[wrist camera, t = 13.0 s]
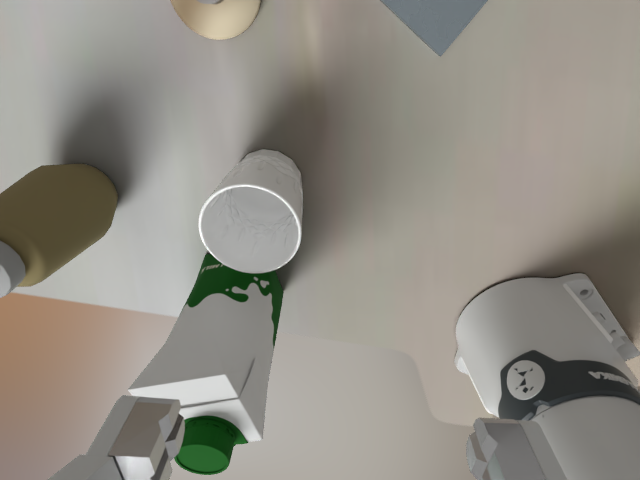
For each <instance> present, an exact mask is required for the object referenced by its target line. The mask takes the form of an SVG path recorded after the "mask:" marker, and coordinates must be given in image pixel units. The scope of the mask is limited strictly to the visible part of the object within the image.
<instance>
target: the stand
mask: <svg viewBox="0 0 640 480" xmlns="http://www.w3.org/2000/svg"><path fill="white" fill-rule="evenodd" d="M171 3H172V5H173V7H174V9H175V11H176V13H177V14H178V16H179V17H180V18H181V20H182V21H183V22H184V23H185V24H186V25H187V26H188V27H189V28H190V29H191V30H193V31H194V32H196V33H197V34H199V35H201V36H204V37H206V38H210V39H215V40H224V39H229V38H233V37H236V36H238V35H240V34H242V33H243V32H244V31H246V30H247V29H248V28H249V27H250V26H251V24H252V23H253V21H254V20H255V18H256V16H257V14H258V11H259V8H260V4H261V0H171Z"/></svg>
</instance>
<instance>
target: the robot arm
mask: <svg viewBox="0 0 640 480" xmlns="http://www.w3.org/2000/svg"><path fill="white" fill-rule="evenodd" d="M582 290H583V291H582ZM456 339H457V343H458V351H457V353H456V356H455V360H454V363H455V365H456V367H457V369H458V370H459V371H460V372H463V373H465V374H468V375H469V376H470V378H471V380H472V382H473V384H474V387H475V389H476V391H477V393H478V395H479V397H480V399H481V401H482V403H483V405H484V407H485V409H486V410H487V411H488V412H489V413H490V414H493V415H495V416H497V417H499V418H500V419H495V418H478V419H476V421H475V423H474V425H473V426H474V429H475V432H474V433H472V434H471V435H469V438H468V441H467V449H466V450H467V452H466V454H467V460H468V464H469V468H470V472H471V473H472V474H473V475H474V476H475V478H476V479H477V480H640V391H639V390H638V389H637V385H638V379H637V378H636V376H635V375H634V374H633V372H632V371H631V370H630V368H629V367H628V365H627V364H626V363H625V361H627V359H628V360H630V359H632V358H634V357H636V356H639V354H640V352H639V351H638V349H637V348H636V347H635V346H634V344H633V343H632V342H631V341H630V340H629V338H628V336H627V335H626V333H625V332H624V330H623V329H622V327H621V326H620V324H619V323H618V321H617V320H616V318H615V317H614V315H613V314H612V312H611V311H610V309H609V308H608V306H607V305H606V303H605V302H604V300H603V299H602V297H601V296H600V294H599V293H598V291H597V289H596V288H595V286H594V285H593V283H592V282H591V281H590V279H589V278H588V276H587V275H585V274H582V273H577V274H571V275H566V276H562V277H558V278H521V279H515V280H511V281H507V282H504V283H501V284H498V285H496V286H494V287H492V288H490V289H488V290H486V291H484V292H483V293H481V294H480V295H478V296H477V297H476V298H475V299H473V300H472V301H471V302H470V303H469V304H468V305H467V307H466V308H465V309H464V310H463V312H462V313H461V315H460V317H459V319H458V322H457V326H456ZM180 409H181V404H180V401H179V399H166V398H152V397H142V396H126V395H123V396H121V397H120V399H118V400H117V402H116V403H115V405H114V407H113V408H112V410H111V412H110V414H109V415H108V417H107V419H106V421H105V422H104V424H103V426H102V427H101V429H100V431H99V432H98V434H97V436H96V438H95V440H94V442H93V443H92V445H91V446H90V448H89V450H88V452H87V453H86V455H79V456H78V457H77V458H75V459H74V460H72V461H71V462H70V463H68V464H67V465H66V466H65V467H63V468H62V469H61V470H60V471H58V472H57V473H55V474H54V475H53V476H51V477H50V478H49V479H48V480H169V479H170V476H171V473H172V467H171V463H170V461H171V460H172V459H173V458H174V457H175V456H176V455H177V454H179V451H180V448H181V445H182V442H183V437H184V432H185V422H184V417H183V416H181V415H180V414H179V412H180Z"/></svg>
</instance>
